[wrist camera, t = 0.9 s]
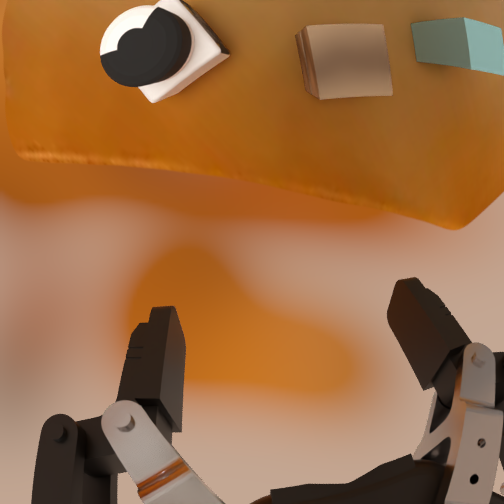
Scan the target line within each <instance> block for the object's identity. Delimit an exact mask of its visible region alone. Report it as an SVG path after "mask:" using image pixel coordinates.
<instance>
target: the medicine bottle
mask: <svg viewBox="0 0 504 504" xmlns="http://www.w3.org/2000/svg"><path fill="white" fill-rule="evenodd" d="M230 54H231V53H230V51H229V50H228V49H227V48H226V46H225V45H224V44H223V43H222V41H221V40H220V39H219V38H218V36H217V35H216V34H215V33H214V32H213V30H212V29H211V28H210V27H209V26H208V24H207V23H206V22H205V21H204V20H203V19H202V17H201V16H200V15H199V14H198V13H197V12H196V11H195V9H194V8H193V7H191V6H190V5H188V4H187V3H185V2H184V1H182V0H160V1H159V2H158V3H157V4H155V5H154V6H149V5H146V6H139V7H135V8H132V9H129V10H127V11H126V12H124V13H122V14H121V15H119V16H118V17H117V18H116V19H115V20H114V21H113V22H112V23H111V24H110V26H109V27H108V28H107V30H106V32H105V34H104V36H103V39H102V42H101V47H100V58H101V63H102V66H103V68H104V70H105V72H106V73H107V75H108V76H109V77H110V78H111V79H112V80H114V81H115V82H117V83H119V84H121V85H124V86H129V87H139V89H140V90H141V91H142V92H143V93H144V95H145V96H146V97H147V98H148V100H149V101H150V102H152V103H155V102H158V101H160V100H162V99H165V98H167V97H170V96H172V95H175V94H177V93H179V92H180V91H181V90H183V89H184V88H185V87H187V86H188V85H189V84H191V83H192V82H193V81H195V80H196V79H197V78H199V77H200V76H202V75H203V74H204V73H206V72H207V71H209V70H210V69H211V68H213V67H214V66H216V65H217V64H219V63H220V62H222V61H223V60H225V59H226V58H228V57H229V56H230Z"/></svg>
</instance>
